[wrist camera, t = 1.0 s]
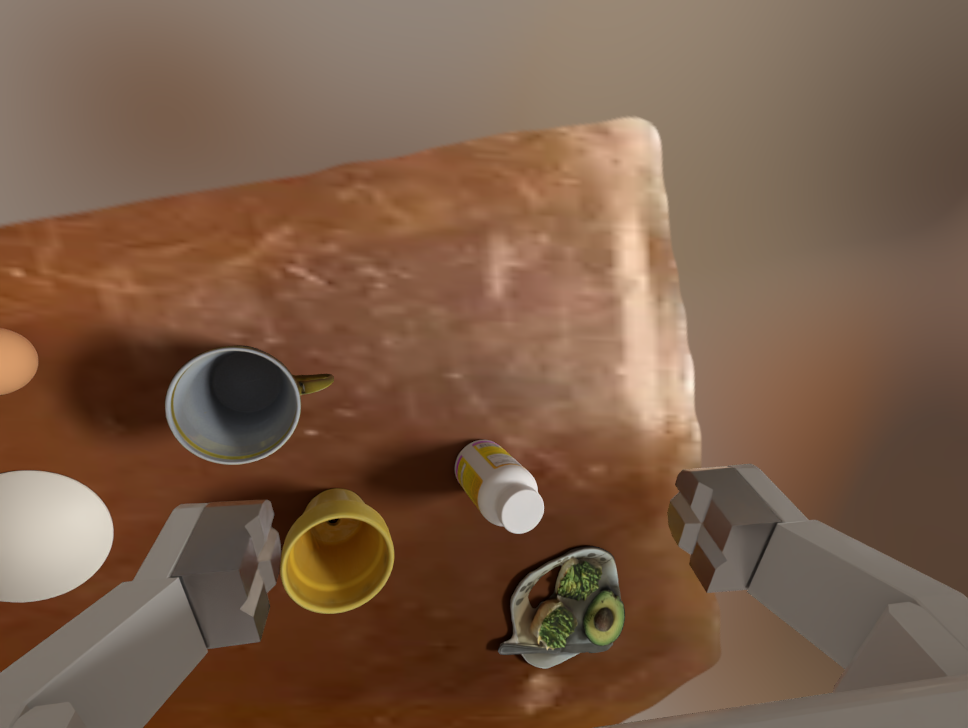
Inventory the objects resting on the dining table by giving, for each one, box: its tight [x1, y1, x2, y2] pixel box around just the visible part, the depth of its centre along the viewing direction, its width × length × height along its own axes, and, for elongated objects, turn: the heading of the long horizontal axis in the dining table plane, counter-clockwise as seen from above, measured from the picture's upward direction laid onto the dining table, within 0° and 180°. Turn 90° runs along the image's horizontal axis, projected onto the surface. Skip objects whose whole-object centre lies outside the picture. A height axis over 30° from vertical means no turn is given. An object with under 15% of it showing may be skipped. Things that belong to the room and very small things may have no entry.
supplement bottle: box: [455, 440, 544, 534], centre depth 54 cm, size 7×7×13 cm
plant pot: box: [280, 488, 394, 614], centre depth 50 cm, size 10×10×10 cm
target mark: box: [0, 470, 114, 602], centre depth 45 cm, size 13×13×1 cm
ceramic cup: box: [165, 346, 334, 465], centre depth 45 cm, size 13×10×10 cm
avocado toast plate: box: [498, 546, 625, 668], centre depth 66 cm, size 19×18×5 cm
